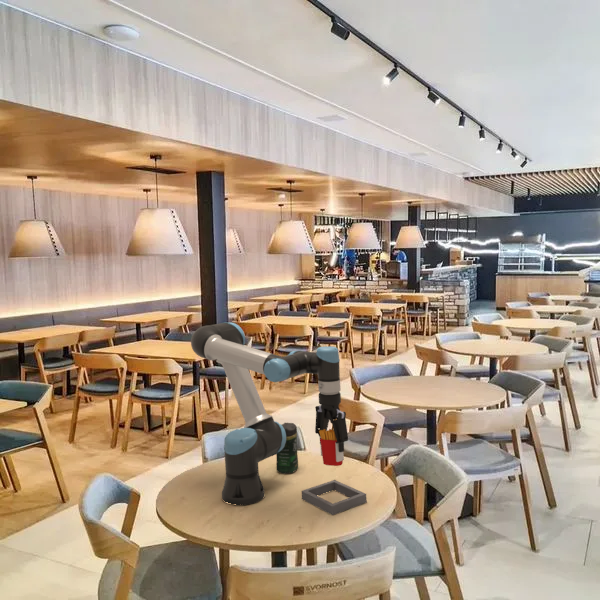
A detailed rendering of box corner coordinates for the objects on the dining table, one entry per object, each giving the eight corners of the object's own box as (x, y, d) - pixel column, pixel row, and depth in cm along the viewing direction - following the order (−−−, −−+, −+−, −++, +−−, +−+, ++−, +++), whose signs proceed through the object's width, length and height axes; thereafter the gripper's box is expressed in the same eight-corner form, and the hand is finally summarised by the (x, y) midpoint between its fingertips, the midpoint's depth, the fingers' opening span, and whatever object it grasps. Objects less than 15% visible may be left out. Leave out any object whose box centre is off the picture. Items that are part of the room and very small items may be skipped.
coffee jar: (293, 475, 226) (291, 428, 224) (274, 473, 228) (272, 427, 227) (301, 466, 235) (299, 421, 233) (282, 465, 237) (280, 420, 236)
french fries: (345, 462, 200) (344, 428, 199) (342, 466, 196) (341, 431, 195) (322, 460, 203) (321, 427, 202) (318, 464, 199) (317, 430, 198)
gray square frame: (301, 499, 203) (301, 490, 202) (334, 487, 211) (334, 479, 211) (332, 515, 189) (332, 506, 189) (366, 502, 198) (366, 493, 197)
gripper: (302, 389, 204) (305, 452, 205) (340, 399, 187) (343, 468, 189) (319, 385, 208) (322, 448, 210) (357, 395, 191) (360, 462, 193)
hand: (332, 457), depth 199 cm, fingers closed on french fries, 8 cm apart
